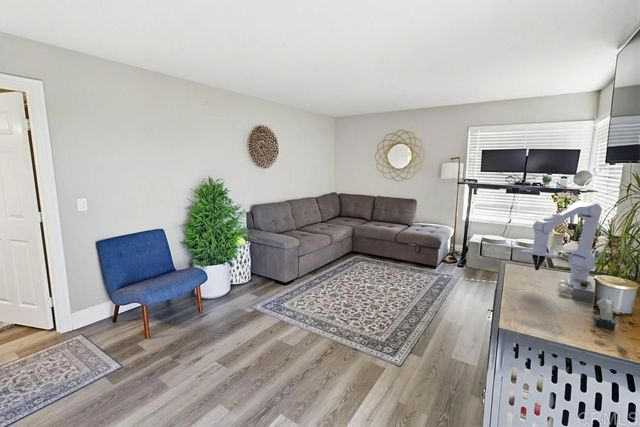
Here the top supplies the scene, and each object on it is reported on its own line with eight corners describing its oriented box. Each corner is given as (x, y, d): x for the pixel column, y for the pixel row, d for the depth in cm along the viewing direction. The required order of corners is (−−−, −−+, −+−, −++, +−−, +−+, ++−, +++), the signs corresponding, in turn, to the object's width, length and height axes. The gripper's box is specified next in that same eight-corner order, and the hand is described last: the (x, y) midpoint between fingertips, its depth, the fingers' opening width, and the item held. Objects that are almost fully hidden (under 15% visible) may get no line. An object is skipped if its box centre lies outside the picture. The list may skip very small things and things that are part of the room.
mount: (569, 288, 160) (571, 275, 159) (588, 292, 156) (590, 278, 155) (572, 298, 148) (574, 284, 147) (592, 303, 144) (595, 288, 143)
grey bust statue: (610, 323, 126) (615, 298, 124) (615, 333, 119) (620, 306, 117) (592, 319, 129) (597, 294, 127) (595, 328, 122) (600, 302, 120)
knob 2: (588, 291, 154) (589, 284, 154) (589, 293, 151) (590, 286, 151) (557, 285, 161) (558, 278, 160) (558, 287, 158) (559, 280, 157)
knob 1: (590, 296, 149) (591, 288, 148) (591, 298, 146) (592, 291, 145) (558, 289, 155) (559, 282, 155) (559, 292, 152) (560, 285, 152)
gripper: (523, 243, 158) (519, 268, 160) (558, 248, 150) (554, 275, 152) (523, 240, 163) (520, 265, 166) (558, 245, 155) (554, 271, 158)
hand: (536, 269), depth 159 cm, fingers closed
